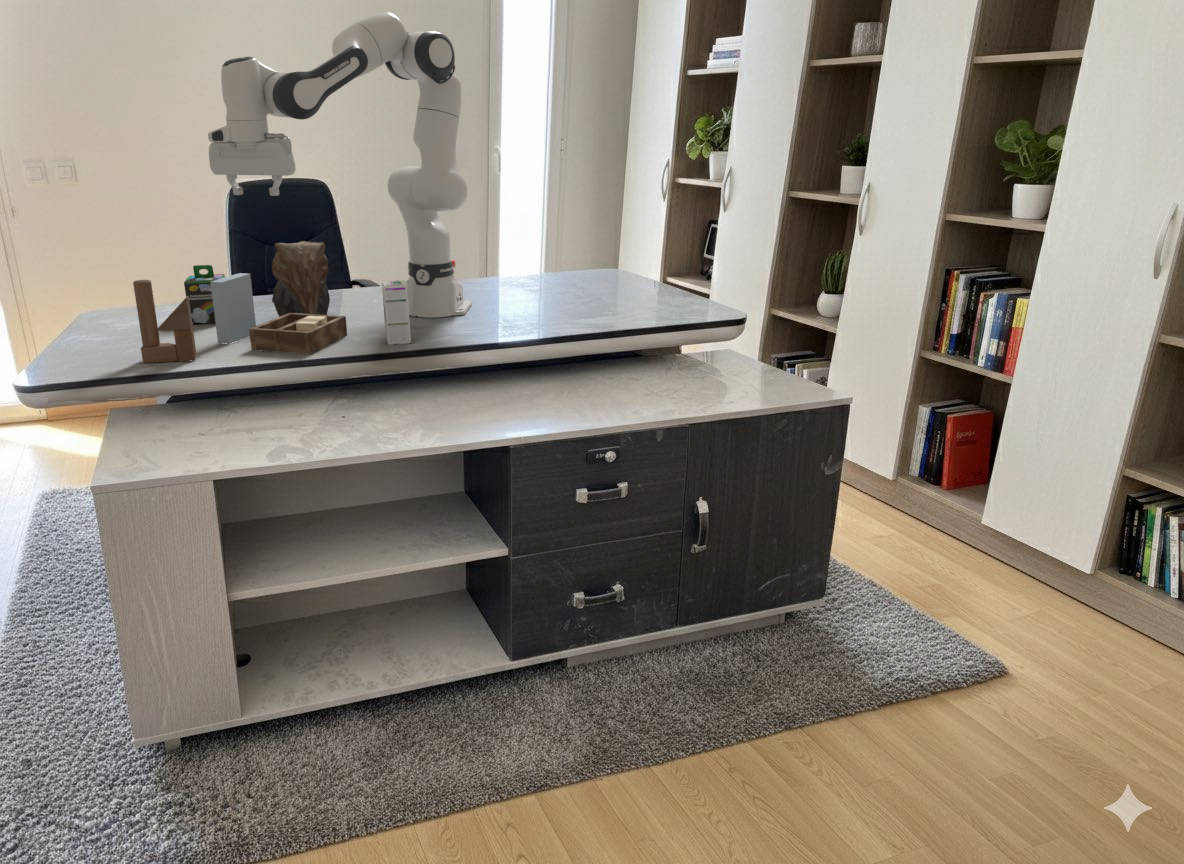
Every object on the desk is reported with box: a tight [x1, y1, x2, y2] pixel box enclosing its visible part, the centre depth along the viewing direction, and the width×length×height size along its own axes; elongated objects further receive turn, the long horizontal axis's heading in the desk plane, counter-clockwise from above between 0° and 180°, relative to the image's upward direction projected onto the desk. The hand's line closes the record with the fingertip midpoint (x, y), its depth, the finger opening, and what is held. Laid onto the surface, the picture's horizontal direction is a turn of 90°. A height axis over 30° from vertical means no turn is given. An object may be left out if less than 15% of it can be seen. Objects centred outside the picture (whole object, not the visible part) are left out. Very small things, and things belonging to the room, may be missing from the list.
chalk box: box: [183, 264, 226, 324], centre depth 243 cm, size 9×9×15 cm
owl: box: [271, 240, 331, 317], centre depth 247 cm, size 13×13×20 cm
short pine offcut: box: [296, 316, 327, 332], centre depth 222 cm, size 8×5×2 cm, turn 176°
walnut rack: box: [249, 313, 348, 355], centre depth 224 cm, size 18×15×5 cm
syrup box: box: [381, 280, 412, 346], centre depth 224 cm, size 6×6×14 cm
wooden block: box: [132, 279, 197, 364], centre depth 205 cm, size 4×11×18 cm, turn 105°
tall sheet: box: [211, 272, 257, 345], centre depth 225 cm, size 12×3×15 cm, turn 168°
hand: (256, 195), depth 218 cm, fingers open, 8 cm apart
